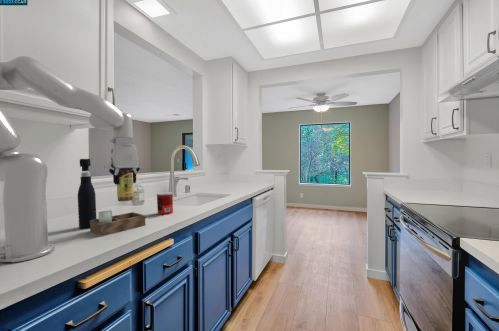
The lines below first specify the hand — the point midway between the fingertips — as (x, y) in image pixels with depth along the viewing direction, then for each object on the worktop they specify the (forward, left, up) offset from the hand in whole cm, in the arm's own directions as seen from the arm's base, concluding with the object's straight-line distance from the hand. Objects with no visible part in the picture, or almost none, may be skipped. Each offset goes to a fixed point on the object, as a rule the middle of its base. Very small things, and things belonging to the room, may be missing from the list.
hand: (125, 183), depth 101 cm
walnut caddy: (-4, 0, -19) cm, 19 cm away
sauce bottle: (0, 0, -8) cm, 8 cm away
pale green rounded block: (-8, 0, -19) cm, 21 cm away
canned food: (+23, +8, -19) cm, 31 cm away
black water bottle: (-11, +14, -19) cm, 26 cm away
